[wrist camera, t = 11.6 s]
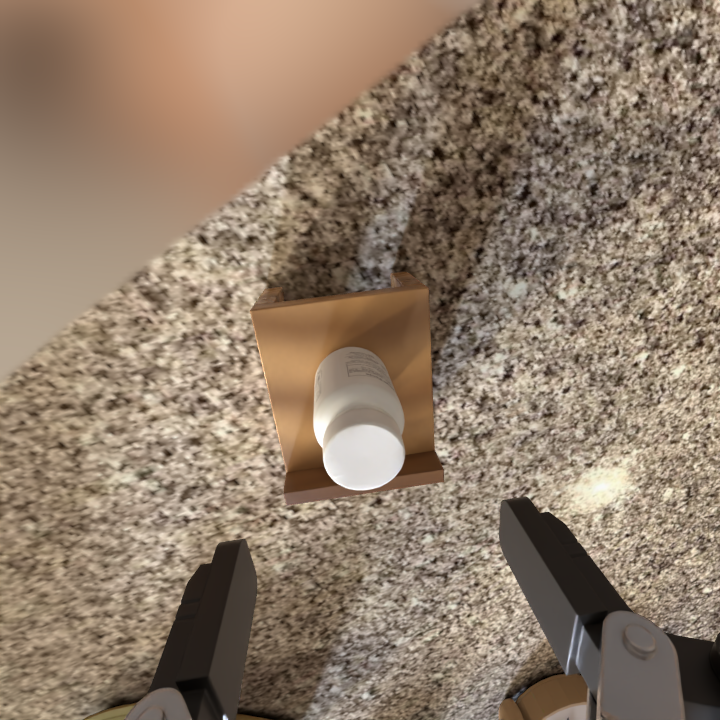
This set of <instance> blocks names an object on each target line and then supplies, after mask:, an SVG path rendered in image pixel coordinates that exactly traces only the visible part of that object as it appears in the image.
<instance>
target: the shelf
mask: <svg viewBox="0 0 720 720" xmlns="http://www.w3.org/2000/svg"><path fill="white" fill-rule="evenodd" d="M390 277H391V288H386V289H379V290H371V291H363V292H355V293H347V294H339V295H331V296H323V297H315V298H307V299H299V300H291V301H285V299H284V294H283V288H282V287H275V288H267V289H265V290H264V291H263V293H262V294H261V296H260V297H259V298H258V300H257V301H256V303H255V304H254V306H253V307H252V309H251V310H250V313H251V318H252V322H253V326H254V331H255V335H256V340H257V344H258V349H259V353H260V358H261V362H262V366H263V371H264V375H265V380H266V384H267V389H268V393H269V397H270V402H271V406H272V411H273V415H274V420H275V424H276V428H277V433H278V437H279V442H280V446H281V451H282V455H283V459H284V464H285V468H286V478H285V485H284V493H283V494H284V498H285V503H286V505H294V504H300V503H307V502H314V501H320V500H327V499H333V498H340V497H347V496H353V495H360V494H366V493H373V492H380V491H386V490H393V489H399V488H406V487H412V486H419V485H426V484H432V483H439V482H444V469H443V467H442V465H441V463H440V460H439V458H438V456H437V454H436V452H435V446H434V418H433V390H432V362H431V334H430V306H429V288H428V287H427V286H426V285H424V284H423V283H421V282H420V281H419V280H417V279H416V278H415V277H413V276H412V275H411V274H409V273H408V272H406V271H404V272H396V273H391V274H390ZM345 347H359V348H363V349H366V350H369V351H371V352H372V353H374V354H375V355H377V356H378V357H379V358H380V359H381V361H382V362H383V363H384V365H385V367H386V369H387V371H388V374H389V376H390V379H391V381H392V384H393V387H394V389H395V392H396V394H397V396H398V399H399V401H400V403H401V406H402V409H403V413H404V429H403V433H402V435H401V436H402V439H403V443H404V447H405V459H404V463H403V466H402V468H401V470H400V471H399V473H398V474H397V475H396V476H395V477H394V478H393V479H392V480H391V481H389V482H388V483H386V484H384V485H382V486H380V487H378V488H374V489H369V490H352V489H348V488H345V487H343V486H341V485H339V484H337V483H336V482H335V481H334V480H333V479H332V478H331V477H330V476H329V475H328V473H327V471H326V469H325V466H324V462H323V448H322V447H321V446H320V444H319V442H318V441H317V438H316V436H315V432H314V425H313V416H314V389H315V388H314V385H315V375H316V372H317V369H318V367H319V365H320V364H321V362H322V361H323V360H324V359H325V358H326V357H327V356H328V355H329V354H331V353H332V352H334V351H336V350H339V349H341V348H345Z"/></svg>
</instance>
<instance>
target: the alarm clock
mask: <svg viewBox="0 0 720 720" xmlns="http://www.w3.org/2000/svg"><path fill="white" fill-rule="evenodd" d="M587 691H588V686H587V684H586V682H585V680H584V678H583V677H582V676H580V675H578V674H572V675H566V674H560V675H555V676H552V677H549V678H546V679H544V680H541V681H540V682H538V683H536V684H535V685H533V686H531V687H529V688H528V689H527V690H526V691H525V692H524V693H523V694H521V695H520V696H519V698H518V699H517V700H516V702H514V700H512V699H511V698H508V699H505V700H503V702H502V703H501V704H500V707H499V720H586V705H587Z"/></svg>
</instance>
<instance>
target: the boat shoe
mask: <svg viewBox="0 0 720 720" xmlns="http://www.w3.org/2000/svg"><path fill="white" fill-rule="evenodd" d="M135 705H136V703H132V704H125V705H121V706H117V707H113V708H110V709H107V710H104V711H101V712H98V713H96V714H93V715H91V716H89V717H87V718H85V719H83V720H124V719H125V717H126V715H127V714H128V713H129V712H130V710H131V709H132V708H133V707H134V706H135ZM236 720H272V719H266V718H260V717H255V716H249V715H243V714H237V715H236Z"/></svg>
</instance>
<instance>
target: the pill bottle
mask: <svg viewBox="0 0 720 720" xmlns="http://www.w3.org/2000/svg"><path fill="white" fill-rule="evenodd" d="M314 388H315V389H314V416H313V425H314V432H315V436H316V438H317V441H318V442H319V444H320V446H321V447H322V448H323V462H324V466H325V469H326V471H327V473H328V475H329V476H330V477H331V478H332V479H333V480H334V481H335V482H336V483H337V484H339V485H341V486H343V487H345V488H348V489H352V490H369V489H374V488H378V487H380V486H382V485H384V484H386V483H388V482H389V481H391V480H392V479H393V478H394V477H395V476H396V475H397V474H398V473H399V471H400V470H401V468H402V466H403V463H404V459H405V447H404V443H403V439H402V436H401V435H402V433H403V429H404V413H403V409H402V406H401V403H400V401H399V399H398V396H397V394H396V392H395V389H394V387H393V384H392V381H391V379H390V376H389V374H388V371H387V369H386V367H385V365H384V363H383V362H382V361H381V359H380V358H379V357H378V356H377V355H375V354H374V353H372V352H371V351H369V350H366V349H363V348H359V347H345V348H341V349H339V350H336V351H334V352H332V353H331V354H329V355H328V356H327V357H326V358H325V359H324V360H323V361H322V362H321V364H320V365H319V367H318V369H317V372H316V375H315V385H314Z"/></svg>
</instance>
